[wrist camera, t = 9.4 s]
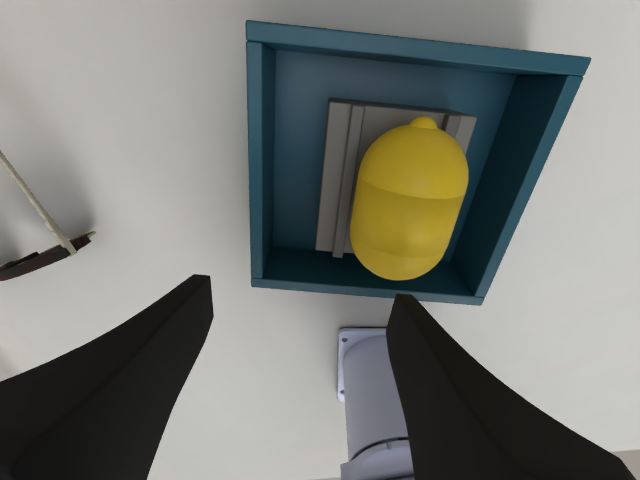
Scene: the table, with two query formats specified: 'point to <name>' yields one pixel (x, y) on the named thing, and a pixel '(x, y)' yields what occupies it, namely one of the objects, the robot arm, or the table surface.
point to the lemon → (407, 200)
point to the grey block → (349, 149)
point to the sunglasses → (65, 246)
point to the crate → (405, 89)
